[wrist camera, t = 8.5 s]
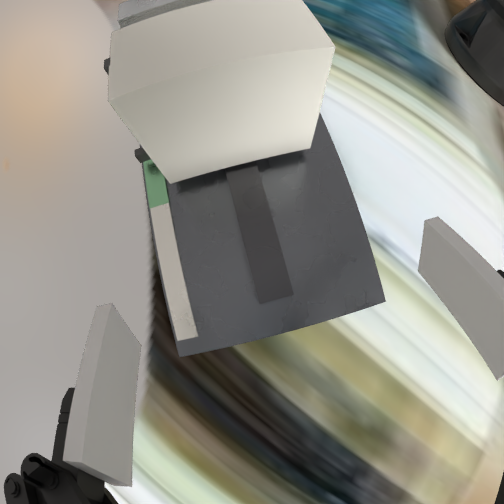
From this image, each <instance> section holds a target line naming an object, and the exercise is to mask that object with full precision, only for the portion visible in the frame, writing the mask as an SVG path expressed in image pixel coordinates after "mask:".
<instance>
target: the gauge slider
mask: <svg viewBox="0 0 504 504" xmlns="http://www.w3.org/2000/svg"><path fill="white" fill-rule="evenodd" d="M334 51H335V46H334V44H333V43H332V41H331V40H330V38H329V37H328V35H327V34H326V32H325V31H324V29H323V28H322V27H321V25H320V24H319V22H318V21H317V20H316V18H315V17H314V15H313V14H312V13H311V11H310V10H309V9H308V7H307V6H306V5H305V3H304V2H303V1H302V0H213V1H209V2H204V3H200V4H196V5H192V6H188V7H184V8H181V9H177V10H173V11H170V12H167V13H163V14H160V15H157V16H154V17H151V18H148V19H145V20H142V21H140V22H137V23H134V24H131V25H129V26H126V27H124V28H121V29H119V30H116V31H114V32H112V33H111V45H110V58H108V59H106V60H104V69H105V71H106V72H107V74H108V75H109V80H108V102H109V103H110V104H111V106H112V107H113V108H114V110H115V111H116V113H117V114H118V115H119V117H120V118H121V119H122V121H123V122H124V123H125V125H126V126H127V127H128V129H129V130H130V131H131V133H132V134H133V135H134V137H135V138H136V139H137V141H138V142H139V143H140V145H141V146H142V148H139V149H136V150H135V157H136V158H137V159H138V160H139V162H140V163H142V162H145V161H148V160H151V159H152V161H153V162H154V163H155V165H156V166H157V167H158V169H159V170H160V171H161V173H162V174H163V175H164V176H165V178H166V179H167V180H168V182H169V183H170V184H171V183H175V182H178V181H181V180H185V179H188V178H192V177H195V176H198V175H202V174H206V173H209V172H213V171H216V170H220V169H224V168H228V167H231V166H235V165H239V164H243V163H247V162H251V161H255V160H259V159H264V158H268V157H272V156H277V155H281V154H286V153H290V152H295V151H300V150H304V149H309V148H310V147H311V143H312V140H313V136H314V132H315V128H316V124H317V120H318V116H319V112H320V108H321V104H322V100H323V96H324V92H325V88H326V84H327V80H328V76H329V72H330V68H331V64H332V59H333V55H334Z"/></svg>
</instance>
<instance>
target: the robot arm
mask: <svg viewBox="0 0 504 504" xmlns="http://www.w3.org/2000/svg"><path fill="white" fill-rule="evenodd" d="M445 38H446V41H447V44H448V46H449V48H450V49H451V51H452V53H453V54H454V56H455V57H456V59H457V60H458V61H459V63H460V64H461V65H462V67H463V68H464V69H465V70H466V71H467V72H468V74H469V75H470V76H471V77H472V78H473V79H474V80H475V81H476V82H477V83H478V84H479V85H480V86H481V87H482V88H483V89H484V90H485V91H486V92H487V93H488V94H490V95H491V96H492V97H493V98H494V99H496V100H497V101H498V102H499V103H501V104H502V105H503V106H504V0H476V1H474V2H473V3H471V4H470V5H469V6H467V7H466V8H464V9H463V10H462V11H460V12H459V13H457V14H456V15H455V16H453V18H452V19H451V20H450V22H449V24H448V26H447V28H446V30H445ZM418 272H419V273H420V274H421V275H422V277H423V278H424V279H425V280H426V282H427V283H428V284H429V285H430V286H431V288H432V289H433V290H434V291H435V293H436V294H437V295H438V297H439V298H440V299H441V300H442V302H443V303H444V304H445V306H446V307H447V308H448V310H449V311H450V312H451V314H452V315H453V316H454V318H455V319H456V320H457V322H458V323H459V324H460V326H461V327H462V328H463V330H464V331H465V333H466V334H467V336H468V337H469V338H470V340H471V341H472V343H473V344H474V346H475V347H476V348H477V350H478V351H479V353H480V354H481V356H482V357H483V359H484V360H485V362H486V364H487V365H488V367H489V368H490V370H491V371H492V373H493V375H494V376H495V378H496V379H497V381H498V380H499V379H501V378H502V377H504V272H503V271H502V270H498V271H496V270H495V269H494V268H493V267H492V266H491V265H490V264H489V263H488V262H487V261H486V260H485V259H484V258H483V257H482V256H481V255H480V254H479V253H478V252H477V251H476V250H475V249H474V248H473V247H471V246H470V245H469V244H468V243H467V242H466V241H465V240H464V239H463V238H462V237H461V236H460V235H458V234H457V233H456V232H455V231H454V230H453V229H452V228H451V227H449V226H448V225H447V224H446V223H445V222H444V221H443V220H441V219H440V218H439V217H435V218H431V219H428V220H425V222H424V231H423V239H422V247H421V254H420V261H419V267H418ZM140 352H141V344H140V343H139V341H138V340H137V339H136V337H135V336H134V334H133V333H132V332H131V330H130V329H129V327H128V326H127V324H126V323H125V322H124V320H123V319H122V317H121V316H120V314H119V313H118V311H117V310H116V308H115V307H114V305H113V304H112V303H109V304H105V305H101V306H97V308H96V311H95V314H94V317H93V321H92V324H91V328H90V331H89V335H88V338H87V341H86V345H85V349H84V353H83V357H82V360H81V365H80V368H79V373H78V377H77V381H76V386H75V388H69V389H68V391H67V393H66V394H65V396H64V398H63V400H62V405H61V410H60V413H61V414H60V415H59V420H58V422H59V424H58V425H57V430H56V436H55V442H54V449H53V456H52V461H50V460H48V459H46V458H44V457H43V456H41V455H39V454H38V453H31V454H30V455H28V456H26V458H25V459H24V460H23V463H22V465H21V476H20V475H18V474H16V473H11V474H10V475H8V476H7V478H6V480H5V483H4V493H5V498H6V503H7V504H118V503H117V501H116V500H115V499H114V497H113V496H112V495H111V493H110V492H109V491H108V490H107V489H106V488H105V487H104V483H105V482H107V483H109V484H111V485H114V486H130V487H132V457H133V432H134V416H135V402H136V390H137V380H138V369H139V360H140ZM495 504H504V472H503V476H502V480H501V484H500V487H499V491H498V494H497V497H496V501H495Z"/></svg>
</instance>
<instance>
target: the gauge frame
mask: <svg viewBox="0 0 504 504" xmlns="http://www.w3.org/2000/svg"><path fill="white" fill-rule="evenodd" d="M209 1H213V0H128V1H126V2H123V3H121V4H119V11H118V23H119V25H120V27H121V28H124V27H126V26H129V25H131V24H134V23H137V22H140V21H142V20H145V19H148V18H151V17H154V16H157V15H160V14H163V13H167V12H170V11H173V10H177V9H181V8H184V7H188V6H192V5H196V4H200V3H204V2H209ZM140 148H142V146H141V145H140ZM142 168H143V176H144V183H145V191H146V198H147V204H148V211H149V217H150V223H151V229H152V235H153V241H154V246H155V252H156V257H157V262H158V267H159V272H160V277H161V282H162V287H163V291H164V296H165V300H166V305H167V309H168V313H169V318H170V322H171V326H172V330H173V334H174V338H175V342H176V346H177V349H178V353H179V357H182V356H187V355H192V354H197V353H202V352H207V351H211V350H216V349H220V348H225V347H229V346H234V345H238V344H242V343H246V342H250V341H254V340H258V339H262V338H266V337H270V336H274V335H278V334H282V333H285V332H289V331H293V330H296V329H300V328H303V327H307V326H310V325H314V324H317V323H321V322H324V321H327V320H331V319H334V318H337V317H340V316H343V315H347V314H350V313H353V312H356V311H359V310H362V309H365V308H368V307H371V306H374V305H377V304H380V303H383V302H386V300H385V297H384V293H383V289H382V285H381V281H380V278H379V274H378V271H377V267H376V264H375V260H374V257H373V253H372V250H371V247H370V243H369V240H368V237H367V234H366V231H365V228H364V225H363V222H362V219H361V216H360V213H359V210H358V207H357V204H356V201H355V198H354V196H353V193H352V190H351V187H350V185H349V182H348V179H347V177H346V174H345V171H344V169H343V166H342V164H341V161H340V159H339V156H338V154H337V151H336V149H335V146H334V144H333V141H332V139H331V137H330V134H329V132H328V130H327V127H326V125H325V123H324V121H323V118H322V116H321V114H320V112H319V116H318V120H317V124H316V128H315V132H314V136H313V140H312V143H311V147H310V148H309V149H304V150H300V151H295V152H290V153H286V154H281V155H277V156H272V157H268V158H264V159H259V160H255V161H251V162H247V163H243V164H239V165H235V166H231V167H228V168H224V169H220V170H216V171H213V172H209V173H206V174H202V175H198V176H195V177H192V178H188V179H185V180H181V181H178V182H175V183H171V184H170V183H169V182H168V180H167V179H166V178H165V176H164V175H163V174H162V173H161V171H160V170H159V169H158V167H157V166H156V165H155V163H154V162H153V161H152V159H151V160H148V161H145V162H142Z"/></svg>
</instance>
